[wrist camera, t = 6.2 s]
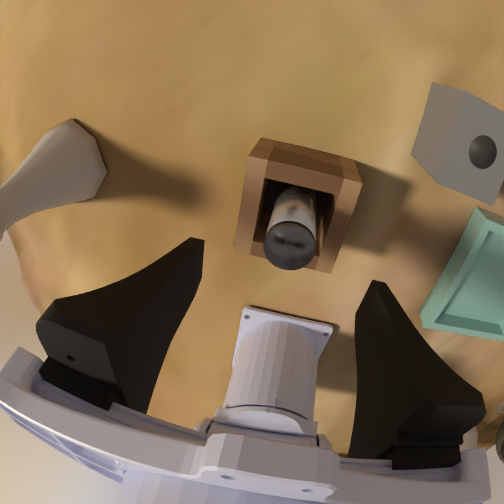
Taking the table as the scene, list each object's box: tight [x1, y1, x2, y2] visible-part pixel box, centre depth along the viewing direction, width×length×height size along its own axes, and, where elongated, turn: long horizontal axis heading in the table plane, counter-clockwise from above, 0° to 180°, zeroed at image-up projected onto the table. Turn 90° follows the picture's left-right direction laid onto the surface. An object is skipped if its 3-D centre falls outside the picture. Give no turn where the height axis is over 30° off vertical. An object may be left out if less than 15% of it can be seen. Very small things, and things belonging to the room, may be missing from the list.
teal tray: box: [419, 207, 504, 341], centre depth 20 cm, size 10×10×2 cm
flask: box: [0, 119, 107, 241], centre depth 18 cm, size 7×7×10 cm
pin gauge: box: [263, 182, 317, 270], centre depth 18 cm, size 2×2×7 cm
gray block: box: [411, 83, 504, 206], centre depth 14 cm, size 5×4×5 cm
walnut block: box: [234, 138, 363, 274], centre depth 19 cm, size 6×6×4 cm
